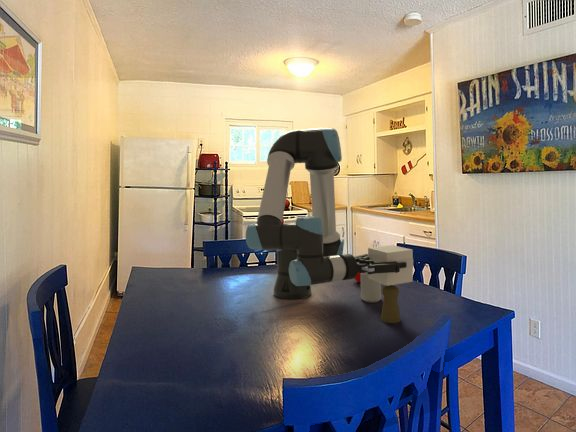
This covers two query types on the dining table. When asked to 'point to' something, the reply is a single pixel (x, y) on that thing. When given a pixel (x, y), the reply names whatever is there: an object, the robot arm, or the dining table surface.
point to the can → (370, 289)
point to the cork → (390, 304)
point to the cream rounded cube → (391, 255)
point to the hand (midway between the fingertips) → (401, 259)
